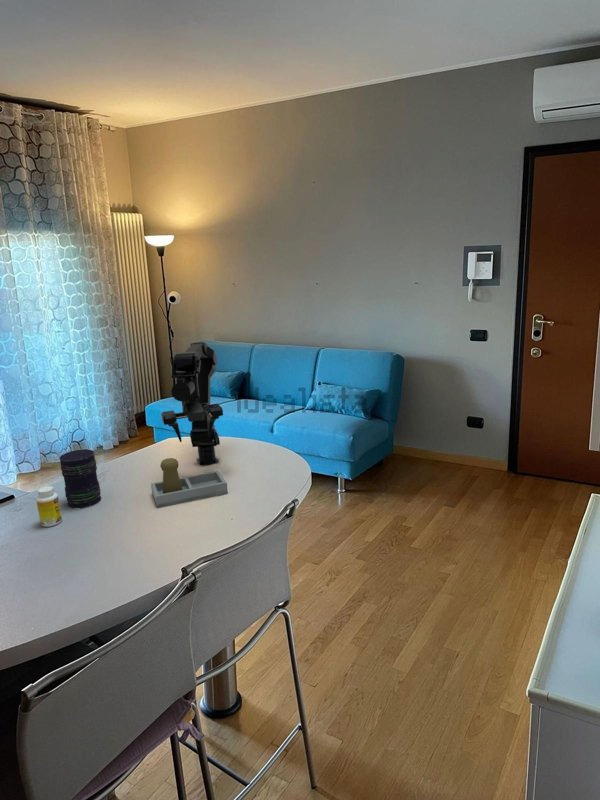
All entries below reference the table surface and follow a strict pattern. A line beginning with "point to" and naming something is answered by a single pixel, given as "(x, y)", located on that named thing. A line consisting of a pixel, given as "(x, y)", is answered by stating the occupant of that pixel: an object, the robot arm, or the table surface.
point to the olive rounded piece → (170, 475)
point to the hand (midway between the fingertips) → (195, 439)
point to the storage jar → (80, 478)
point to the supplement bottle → (48, 507)
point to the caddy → (191, 489)
